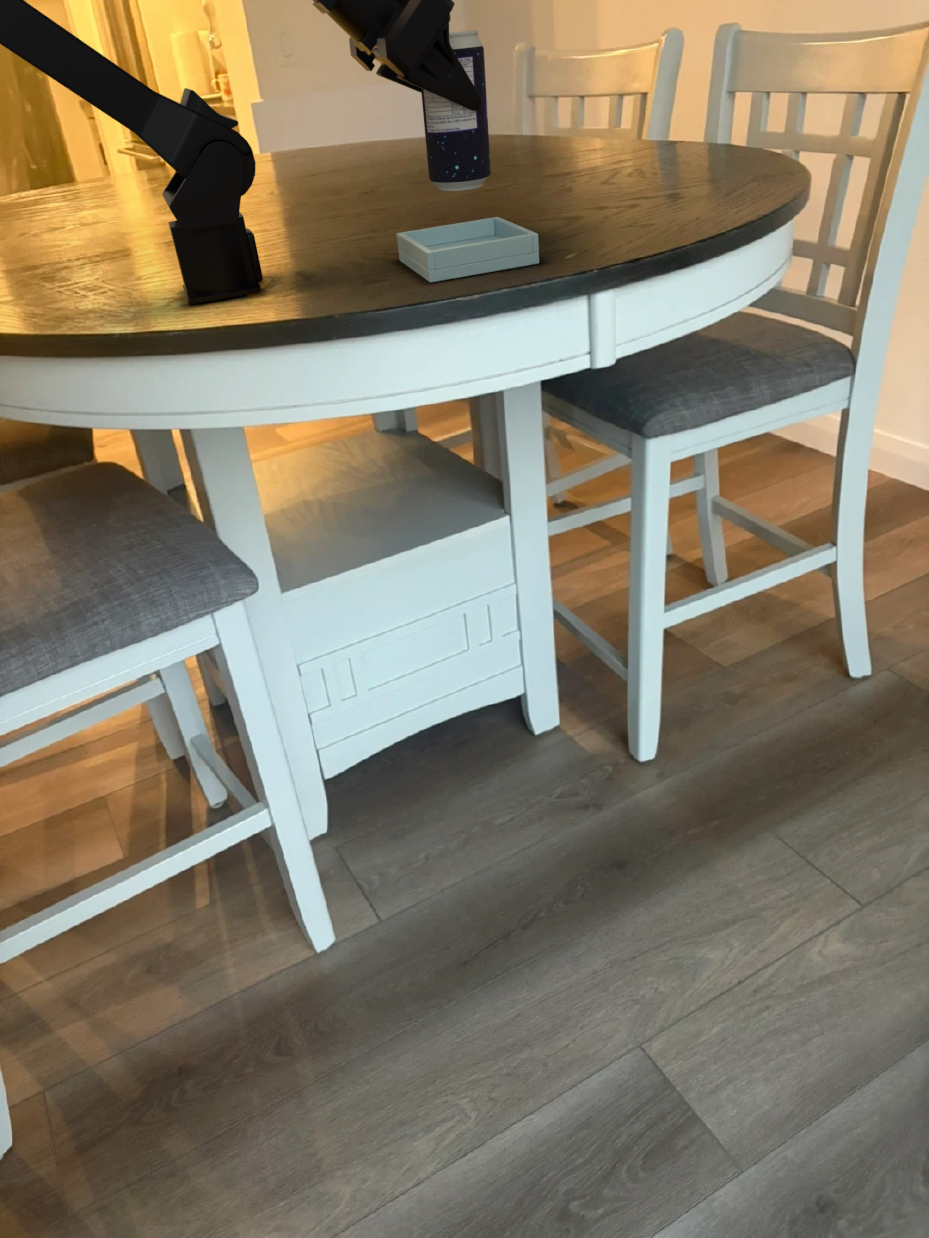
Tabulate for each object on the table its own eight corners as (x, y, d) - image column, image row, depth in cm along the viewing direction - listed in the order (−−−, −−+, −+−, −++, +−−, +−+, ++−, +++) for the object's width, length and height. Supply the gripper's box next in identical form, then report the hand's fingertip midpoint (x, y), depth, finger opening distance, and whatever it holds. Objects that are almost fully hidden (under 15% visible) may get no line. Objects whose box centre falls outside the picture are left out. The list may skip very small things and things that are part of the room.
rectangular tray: (430, 283, 78) (426, 252, 77) (399, 261, 87) (396, 233, 85) (539, 263, 81) (538, 233, 79) (499, 244, 89) (497, 216, 87)
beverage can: (503, 184, 83) (495, 29, 77) (452, 194, 81) (439, 34, 74) (468, 180, 87) (458, 31, 81) (418, 189, 85) (403, 37, 78)
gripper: (413, -157, 63) (566, 20, 71) (367, -118, 78) (497, 24, 86) (319, -10, 66) (476, 144, 74) (292, 1, 81) (424, 127, 89)
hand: (469, 104), depth 81 cm, fingers closed on beverage can, 5 cm apart
